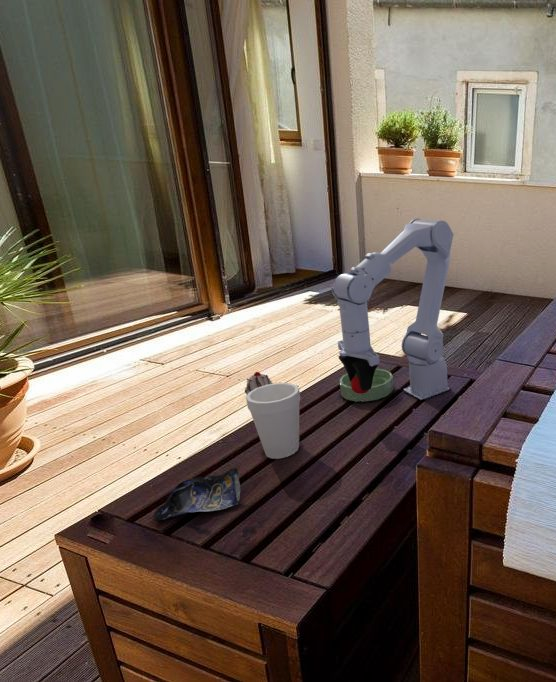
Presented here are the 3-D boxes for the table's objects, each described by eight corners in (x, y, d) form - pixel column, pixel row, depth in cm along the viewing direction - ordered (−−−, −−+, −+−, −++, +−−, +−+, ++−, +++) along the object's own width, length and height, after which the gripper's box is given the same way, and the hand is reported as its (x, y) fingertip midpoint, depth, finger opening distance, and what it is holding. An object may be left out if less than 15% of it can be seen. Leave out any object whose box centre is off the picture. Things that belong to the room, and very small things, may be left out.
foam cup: (246, 455, 95) (235, 397, 90) (284, 434, 102) (275, 379, 98) (280, 467, 91) (270, 407, 86) (316, 444, 99) (309, 388, 94)
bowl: (376, 377, 132) (375, 364, 131) (403, 392, 123) (402, 378, 122) (332, 391, 123) (330, 377, 122) (357, 408, 115) (355, 393, 113)
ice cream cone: (287, 429, 104) (277, 367, 100) (273, 443, 99) (262, 377, 94) (262, 428, 105) (252, 366, 100) (247, 441, 100) (235, 376, 95)
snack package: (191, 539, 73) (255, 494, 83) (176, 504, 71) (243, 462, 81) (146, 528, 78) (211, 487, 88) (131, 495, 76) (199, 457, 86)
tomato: (365, 387, 110) (363, 368, 109) (375, 392, 107) (373, 373, 106) (348, 392, 107) (346, 373, 106) (357, 398, 104) (356, 379, 103)
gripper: (322, 325, 104) (329, 381, 109) (355, 341, 95) (361, 402, 99) (351, 319, 109) (357, 373, 114) (386, 333, 100) (390, 392, 104)
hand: (361, 386), depth 107 cm, fingers closed on tomato, 4 cm apart
